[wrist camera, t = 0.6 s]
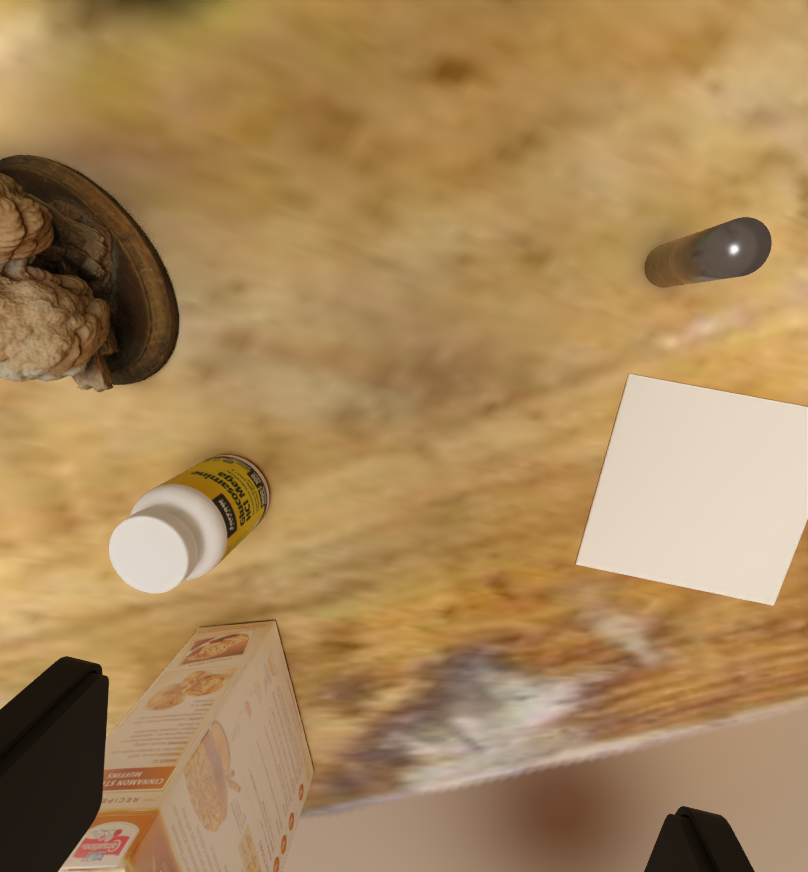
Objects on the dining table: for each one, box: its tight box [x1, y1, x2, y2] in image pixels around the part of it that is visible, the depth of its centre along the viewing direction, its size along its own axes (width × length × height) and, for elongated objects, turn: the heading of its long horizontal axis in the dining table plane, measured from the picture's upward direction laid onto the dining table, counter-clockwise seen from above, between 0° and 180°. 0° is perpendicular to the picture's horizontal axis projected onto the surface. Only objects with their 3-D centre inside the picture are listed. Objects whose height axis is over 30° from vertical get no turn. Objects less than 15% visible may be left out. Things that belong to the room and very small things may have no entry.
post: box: [645, 217, 771, 287], centre depth 28 cm, size 3×3×9 cm
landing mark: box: [576, 374, 808, 606], centre depth 36 cm, size 14×14×1 cm
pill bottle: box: [109, 455, 269, 593], centre depth 34 cm, size 6×6×11 cm
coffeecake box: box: [58, 620, 314, 872], centre depth 34 cm, size 15×7×20 cm, turn 10°
